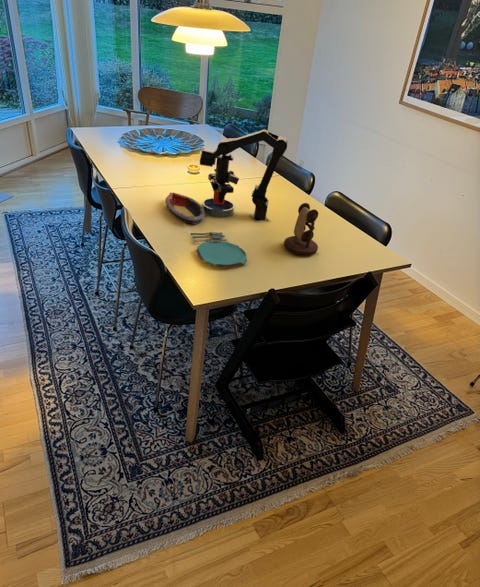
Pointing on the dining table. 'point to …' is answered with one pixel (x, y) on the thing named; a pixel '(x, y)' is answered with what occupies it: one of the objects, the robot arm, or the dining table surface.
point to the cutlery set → (219, 251)
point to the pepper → (217, 198)
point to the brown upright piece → (303, 232)
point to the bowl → (218, 208)
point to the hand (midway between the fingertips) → (218, 200)
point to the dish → (187, 203)
